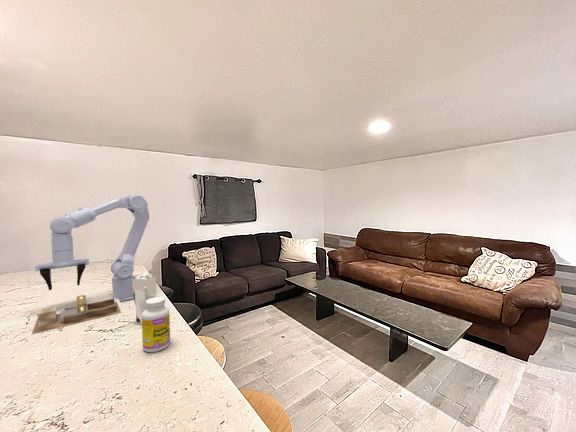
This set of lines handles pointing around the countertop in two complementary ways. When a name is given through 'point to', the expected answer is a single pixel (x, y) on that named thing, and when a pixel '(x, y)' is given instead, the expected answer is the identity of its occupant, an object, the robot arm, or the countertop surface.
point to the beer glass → (143, 293)
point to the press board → (83, 315)
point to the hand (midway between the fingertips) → (64, 287)
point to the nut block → (47, 317)
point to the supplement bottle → (155, 325)
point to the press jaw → (80, 308)
